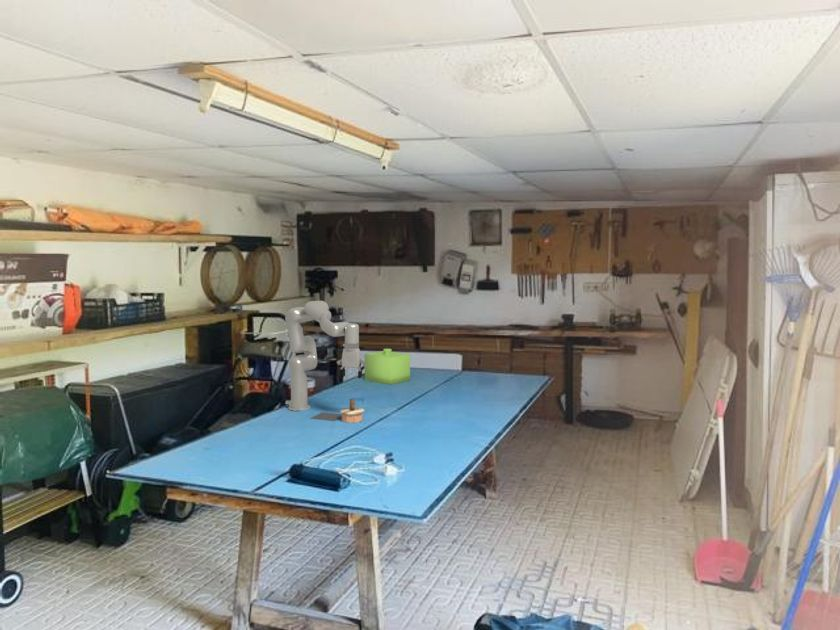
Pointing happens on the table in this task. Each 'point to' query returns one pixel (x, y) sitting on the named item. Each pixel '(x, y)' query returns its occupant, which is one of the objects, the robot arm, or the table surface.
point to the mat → (327, 416)
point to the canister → (387, 367)
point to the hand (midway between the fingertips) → (351, 377)
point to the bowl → (352, 418)
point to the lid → (352, 409)
